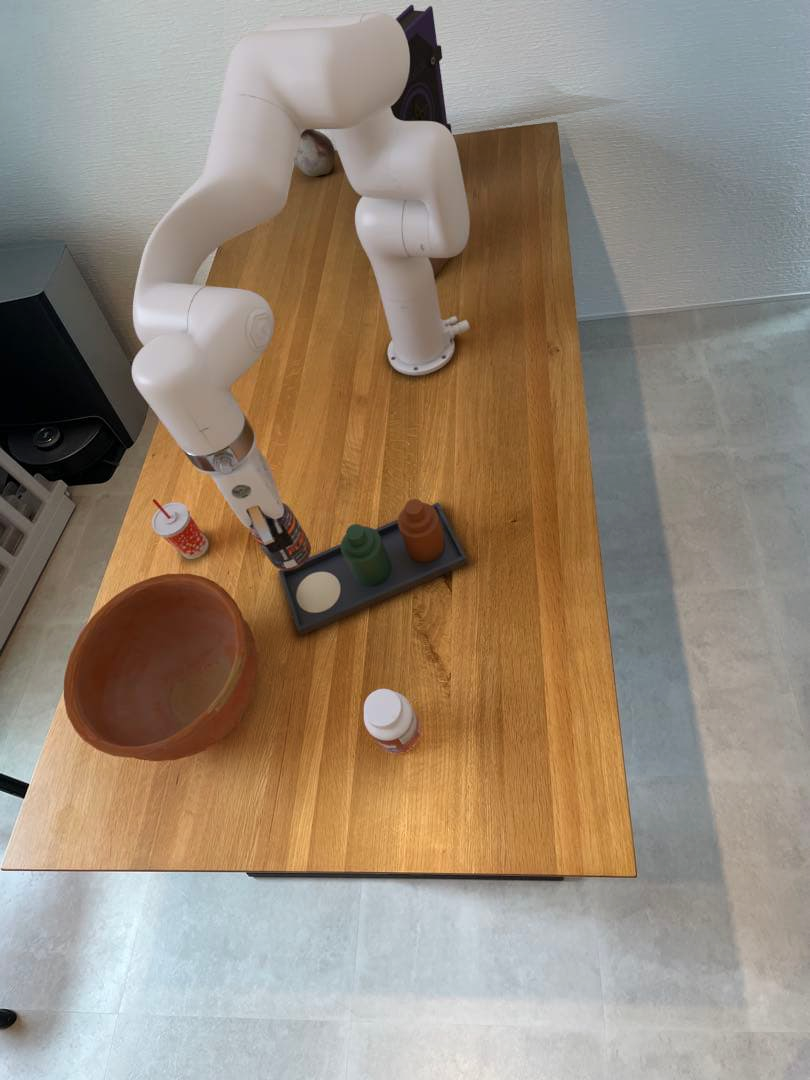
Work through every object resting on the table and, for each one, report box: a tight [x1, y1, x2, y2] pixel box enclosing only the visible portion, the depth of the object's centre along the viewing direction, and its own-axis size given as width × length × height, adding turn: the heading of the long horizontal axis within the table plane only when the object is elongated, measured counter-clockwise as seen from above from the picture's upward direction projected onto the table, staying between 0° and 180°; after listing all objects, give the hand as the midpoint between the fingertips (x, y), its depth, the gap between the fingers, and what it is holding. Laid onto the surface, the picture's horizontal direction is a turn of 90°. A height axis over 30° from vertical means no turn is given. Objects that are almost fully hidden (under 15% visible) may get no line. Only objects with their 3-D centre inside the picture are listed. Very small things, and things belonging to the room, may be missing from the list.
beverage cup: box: [151, 498, 209, 560], centre depth 108 cm, size 6×6×14 cm
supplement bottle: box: [249, 502, 312, 570], centre depth 89 cm, size 6×6×11 cm
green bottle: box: [340, 523, 391, 586], centre depth 100 cm, size 6×6×11 cm
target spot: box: [296, 572, 341, 613], centre depth 104 cm, size 7×7×1 cm
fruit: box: [294, 129, 336, 178], centre depth 161 cm, size 10×9×12 cm
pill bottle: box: [363, 688, 422, 755], centre depth 87 cm, size 6×6×11 cm
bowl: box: [63, 573, 259, 762], centre depth 93 cm, size 25×25×15 cm
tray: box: [278, 502, 469, 637], centre depth 104 cm, size 27×11×2 cm, turn 111°
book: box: [391, 4, 453, 135], centre depth 143 cm, size 24×6×30 cm, turn 147°
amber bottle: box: [397, 498, 445, 563], centre depth 100 cm, size 6×6×11 cm
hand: (275, 526), depth 88 cm, fingers closed on supplement bottle, 6 cm apart
